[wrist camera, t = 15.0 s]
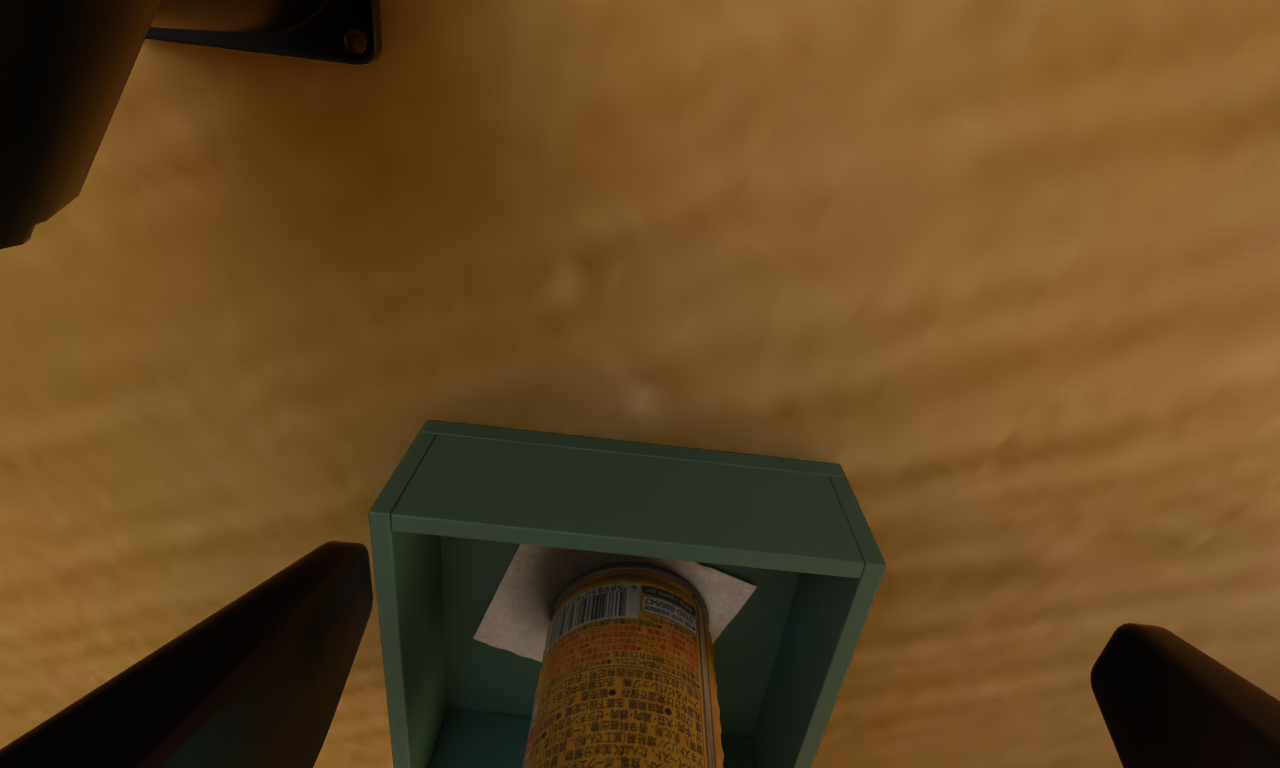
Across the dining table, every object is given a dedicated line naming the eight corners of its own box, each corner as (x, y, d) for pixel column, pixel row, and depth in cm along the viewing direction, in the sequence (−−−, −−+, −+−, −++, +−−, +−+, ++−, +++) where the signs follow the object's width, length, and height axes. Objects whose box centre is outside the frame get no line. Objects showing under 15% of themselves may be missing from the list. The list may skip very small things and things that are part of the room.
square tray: (439, 699, 28) (398, 819, 24) (426, 418, 22) (367, 512, 17) (760, 729, 28) (779, 853, 24) (840, 463, 22) (887, 565, 18)
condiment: (668, 700, 27) (677, 1132, 16) (474, 634, 25) (339, 1063, 14) (756, 581, 24) (841, 1016, 13) (541, 499, 22) (434, 914, 11)
